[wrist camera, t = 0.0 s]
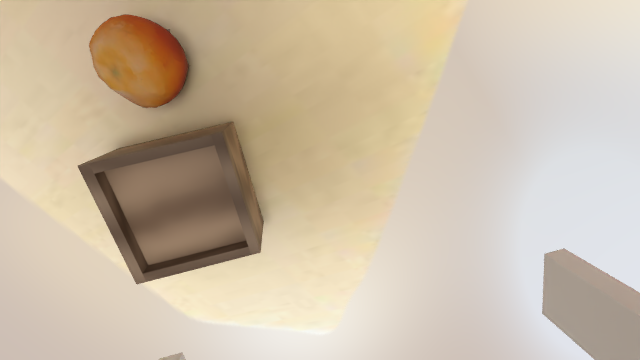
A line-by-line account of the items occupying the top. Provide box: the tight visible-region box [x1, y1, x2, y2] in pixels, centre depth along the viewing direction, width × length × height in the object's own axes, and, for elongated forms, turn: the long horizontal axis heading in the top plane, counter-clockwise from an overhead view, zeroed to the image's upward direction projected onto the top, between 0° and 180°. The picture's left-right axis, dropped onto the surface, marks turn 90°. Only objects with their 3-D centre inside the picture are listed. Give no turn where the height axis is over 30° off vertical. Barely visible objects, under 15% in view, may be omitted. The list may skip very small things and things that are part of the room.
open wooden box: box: [78, 122, 264, 284], centre depth 33 cm, size 13×13×8 cm
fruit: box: [89, 15, 189, 108], centre depth 30 cm, size 8×8×8 cm
